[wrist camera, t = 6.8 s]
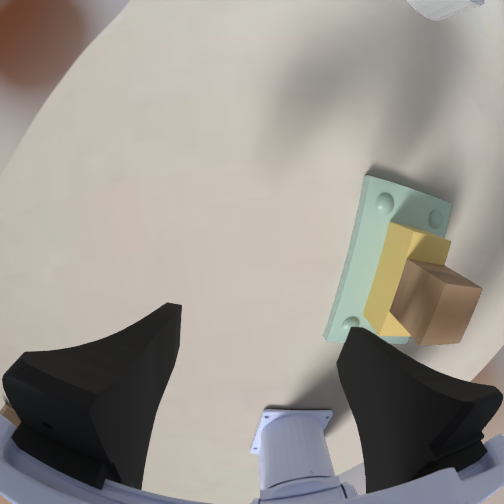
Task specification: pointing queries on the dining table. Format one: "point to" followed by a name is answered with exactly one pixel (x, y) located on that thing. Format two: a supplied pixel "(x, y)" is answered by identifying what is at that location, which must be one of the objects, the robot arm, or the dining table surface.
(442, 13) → the shot glass
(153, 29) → the dining table surface
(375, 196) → the plate
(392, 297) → the ochre brick
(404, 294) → the walnut block
